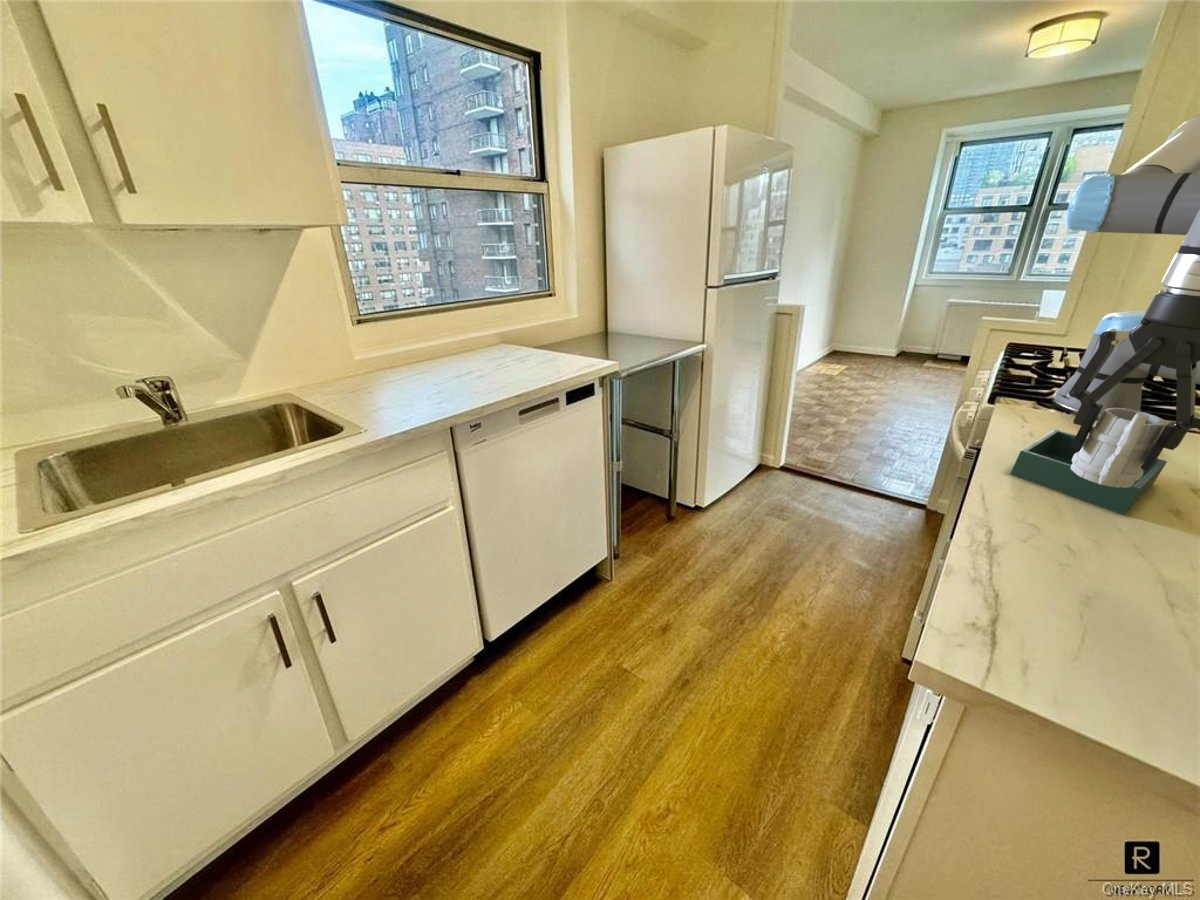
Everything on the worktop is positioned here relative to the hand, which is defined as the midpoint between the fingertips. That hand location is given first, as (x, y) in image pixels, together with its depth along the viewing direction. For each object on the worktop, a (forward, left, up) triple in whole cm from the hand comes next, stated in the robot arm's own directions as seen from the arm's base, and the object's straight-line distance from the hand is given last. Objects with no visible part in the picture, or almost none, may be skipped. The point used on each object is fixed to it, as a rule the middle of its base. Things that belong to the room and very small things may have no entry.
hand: (1110, 455), depth 70 cm
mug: (0, 0, -4) cm, 4 cm away
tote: (-18, -4, -12) cm, 22 cm away
